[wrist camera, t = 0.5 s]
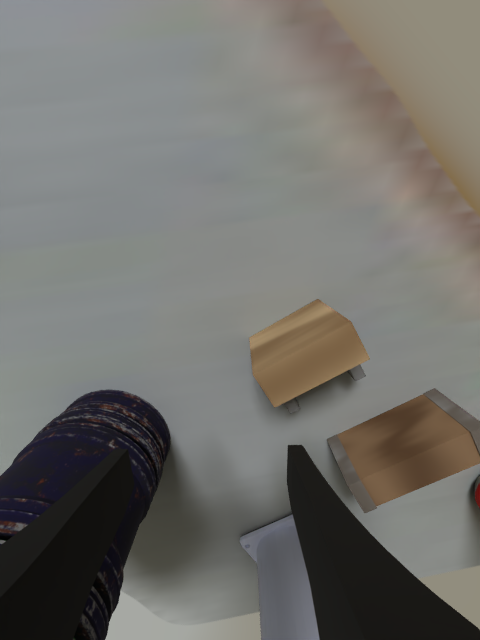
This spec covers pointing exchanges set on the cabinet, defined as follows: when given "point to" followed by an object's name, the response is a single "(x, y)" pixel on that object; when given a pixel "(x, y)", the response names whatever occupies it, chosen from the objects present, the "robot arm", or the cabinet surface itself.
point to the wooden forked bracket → (305, 353)
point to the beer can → (477, 491)
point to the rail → (406, 448)
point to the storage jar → (73, 465)
